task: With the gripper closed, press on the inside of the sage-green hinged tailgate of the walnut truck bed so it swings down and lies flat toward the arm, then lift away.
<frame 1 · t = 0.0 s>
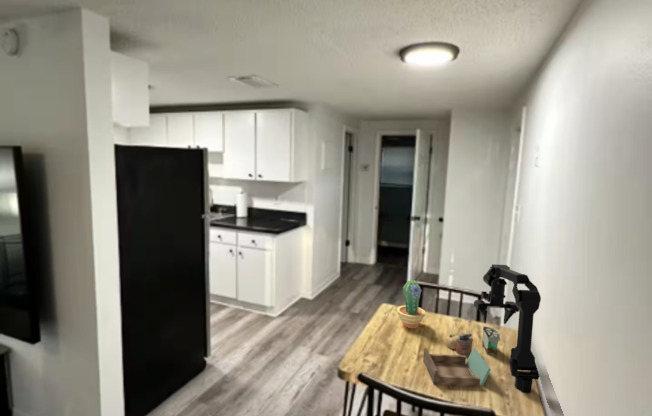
hand: (494, 323, 168), 15 cm above the table, fingers open, 9 cm apart
potted cactus: (410, 325, 197), on the table
truck bed: (449, 375, 150), on the table
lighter: (463, 354, 168), on the table
onion: (453, 349, 173), on the table
tailgate: (477, 365, 150), point 5 cm above the table, hinge at 20.0°
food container: (491, 352, 171), on the table
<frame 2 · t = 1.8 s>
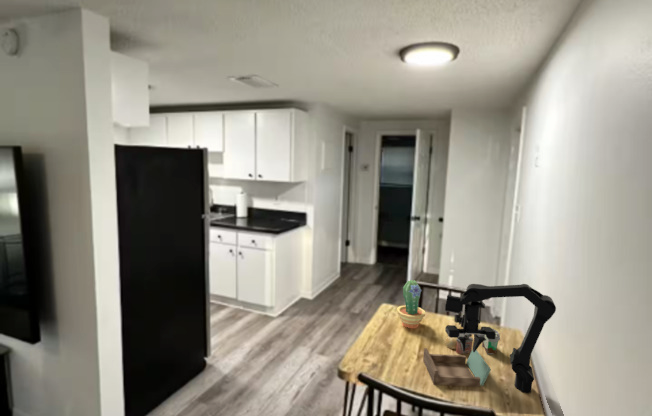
hand: (468, 351, 149), 11 cm above the table, fingers open, 4 cm apart
nothing on the table moved.
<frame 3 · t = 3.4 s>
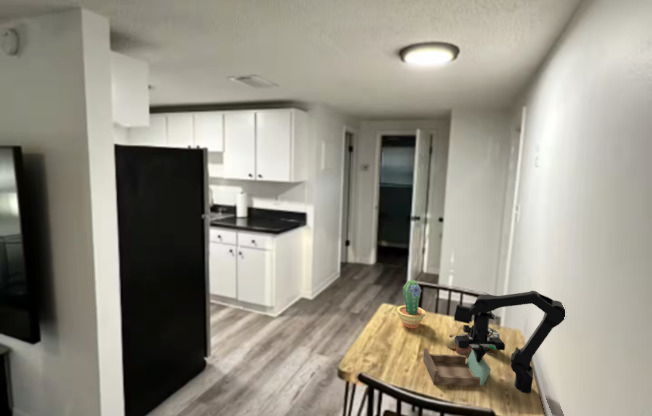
hand: (477, 362, 149), 7 cm above the table, fingers closed
tailgate: (477, 365, 150), point 5 cm above the table, hinge at 20.3°, touching gripper
everything else where it was.
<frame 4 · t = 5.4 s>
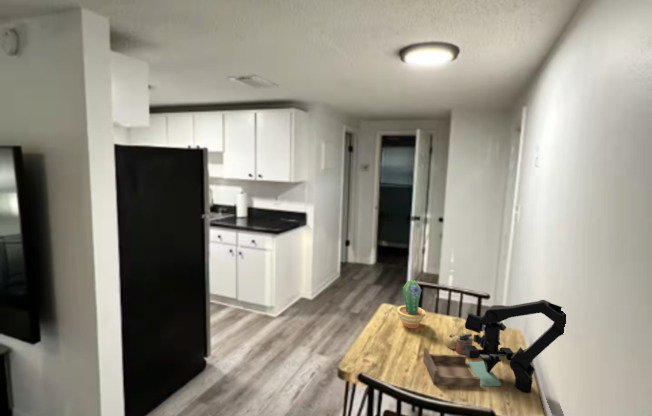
hand: (487, 372, 150), 2 cm above the table, fingers closed, pressing on tailgate
tailgate: (483, 373, 150), point 2 cm above the table, hinge at 83.2°, touching gripper
everything else where it was.
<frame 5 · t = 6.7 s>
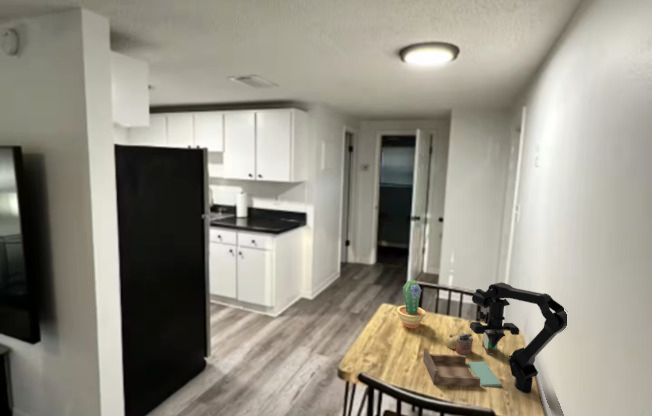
hand: (492, 347, 153), 11 cm above the table, fingers closed
tailgate: (483, 373, 150), point 2 cm above the table, hinge at 84.4°
everything else where it was.
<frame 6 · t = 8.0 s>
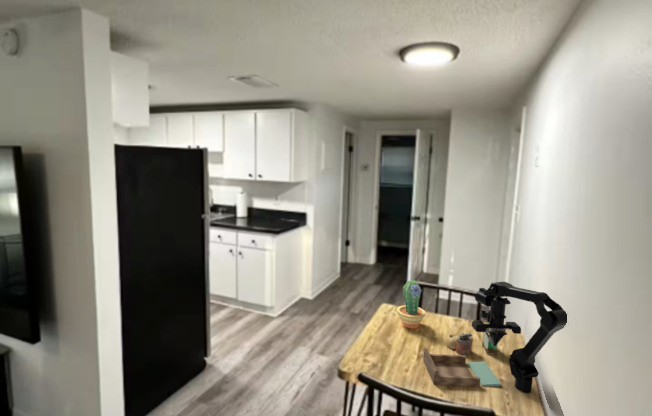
hand: (494, 345, 154), 11 cm above the table, fingers closed
nothing on the table moved.
at the end: tailgate at +84° (first picture: +20°) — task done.
